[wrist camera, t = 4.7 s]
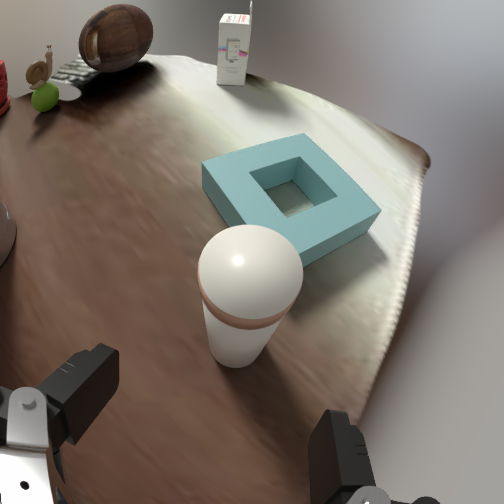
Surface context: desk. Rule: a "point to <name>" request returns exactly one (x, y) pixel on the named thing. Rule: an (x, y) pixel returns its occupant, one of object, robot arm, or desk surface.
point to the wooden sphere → (115, 38)
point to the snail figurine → (42, 84)
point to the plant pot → (3, 89)
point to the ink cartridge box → (233, 48)
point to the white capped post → (246, 290)
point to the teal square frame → (306, 178)
